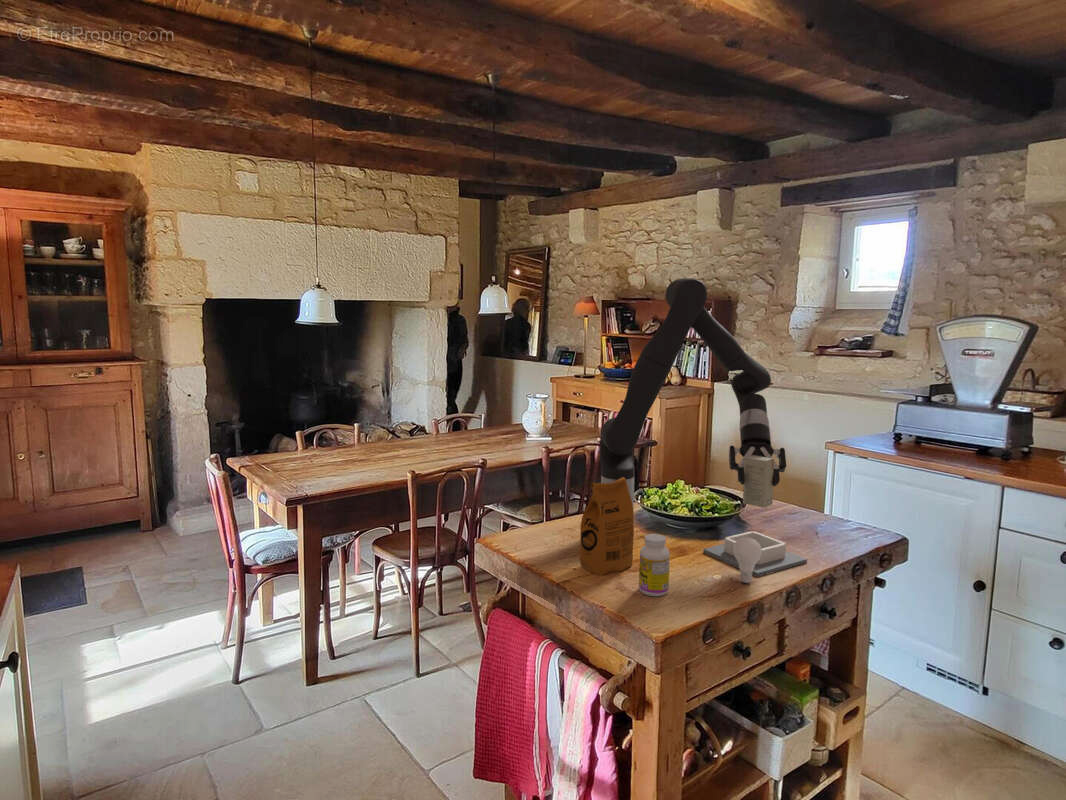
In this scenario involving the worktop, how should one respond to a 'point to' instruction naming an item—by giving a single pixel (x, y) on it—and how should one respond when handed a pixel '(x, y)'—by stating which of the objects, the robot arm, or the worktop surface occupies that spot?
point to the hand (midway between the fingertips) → (759, 483)
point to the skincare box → (758, 481)
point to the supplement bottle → (654, 566)
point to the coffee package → (607, 529)
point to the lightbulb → (747, 556)
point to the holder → (770, 559)
